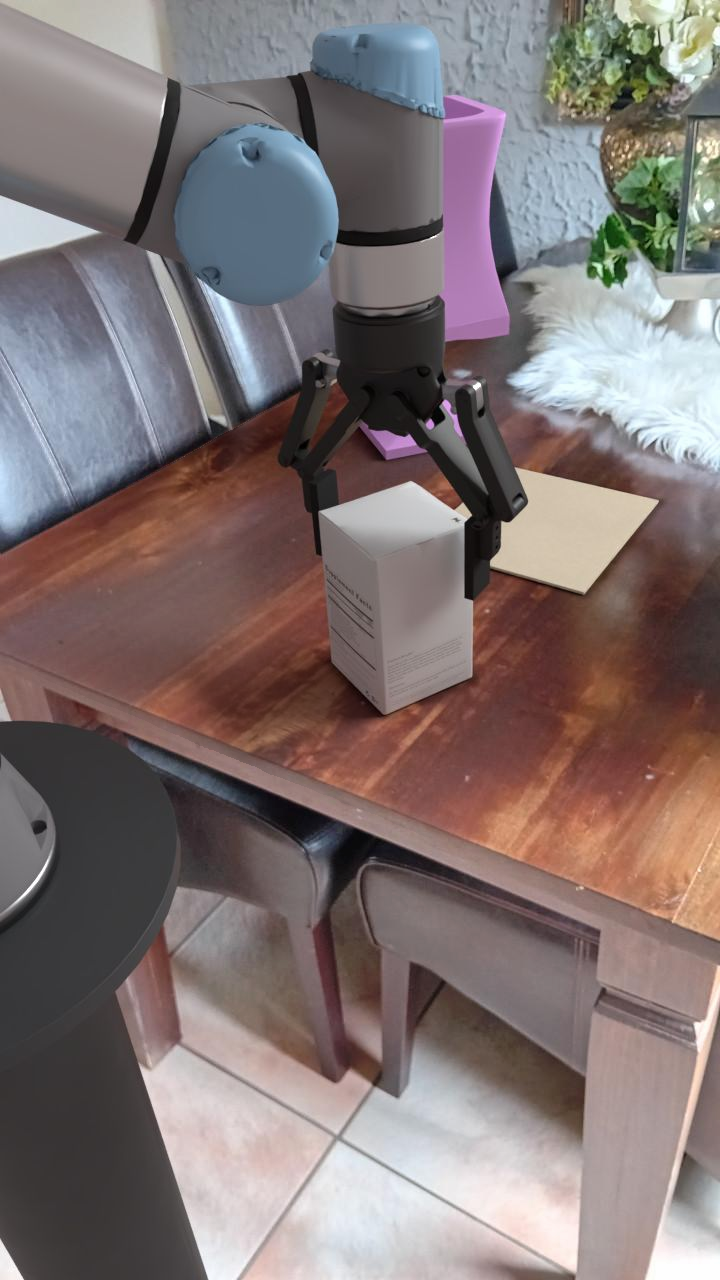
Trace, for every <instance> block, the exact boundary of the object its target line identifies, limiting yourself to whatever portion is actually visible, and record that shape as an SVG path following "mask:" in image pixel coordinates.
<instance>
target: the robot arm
mask: <svg viewBox="0 0 720 1280" xmlns="http://www.w3.org/2000/svg"><path fill="white" fill-rule="evenodd" d="M311 50H312V52H311V53H312V55H311V57H312V59H311V61H310V62H309V68H310V69H309V70H306V71H301V72H298V73H297V74H290V75H286V76H281V77H272V78H271V77H269V78H258V79H245V80H236V81H235V80H234V81H233V80H232V81H224V82H210V83H198V84H185V83H182V82H180V81H177V80H175V79H172V78H170V77H168V76H167V75H165V74H163V73H160V72H158V71H156V70H153V69H151V68H149V67H147V66H145V65H142V64H140V63H138V62H136V61H134V60H131V59H128V58H127V57H124V56H122V55H120V54H117V53H115V52H112V51H110V50H108V49H106V48H104V47H101V46H99V45H97V44H95V43H92V42H91V41H89V40H86V39H84V38H82V37H79V36H77V35H75V34H72V33H70V32H68V31H66V30H64V29H61V28H59V27H57V26H54V25H53V24H50V23H48V22H46V21H43V20H41V19H39V18H37V17H34V16H32V15H30V14H28V13H25V12H23V11H21V10H19V9H17V8H14V7H12V6H10V5H7V4H6V3H3V2H1V1H0V197H4V198H5V199H9V200H12V201H13V202H17V203H20V204H22V205H26V206H28V207H31V208H32V209H36V210H39V211H42V212H45V213H47V214H50V215H53V216H56V217H58V218H60V219H64V220H67V221H69V222H72V223H75V224H77V225H80V226H82V227H85V228H88V229H91V230H93V231H97V232H99V233H102V234H105V235H107V236H110V237H113V238H116V239H118V240H121V241H124V242H126V243H129V244H131V245H134V246H136V247H138V248H140V249H142V250H144V251H147V252H149V253H152V254H155V255H159V256H161V257H163V258H167V259H168V260H172V261H175V262H177V263H180V264H182V265H186V266H187V268H188V269H189V270H190V272H191V273H192V274H193V275H194V276H195V277H196V278H198V279H199V280H200V281H202V282H203V283H204V284H205V285H207V286H208V287H209V288H210V289H211V290H212V291H213V292H215V293H216V294H218V295H219V296H221V297H223V298H225V299H227V300H229V301H232V302H235V303H238V304H241V305H245V306H254V307H263V306H265V307H266V306H273V305H277V304H279V303H280V304H281V303H283V302H286V301H289V300H291V299H293V298H295V297H297V296H299V295H300V294H302V293H304V291H306V290H307V289H308V288H309V287H311V285H313V284H314V283H315V281H317V280H318V278H319V277H320V276H321V274H322V273H323V272H324V270H325V269H326V266H327V265H328V276H329V290H330V291H329V292H330V295H331V297H332V299H333V300H334V299H335V300H336V301H337V303H336V304H335V306H334V305H333V307H332V323H333V332H334V333H333V334H334V335H333V336H334V349H335V354H336V357H337V358H335V355H334V353H333V352H332V351H331V350H330V349H329V348H324V349H322V350H320V351H319V352H316V353H315V354H314V355H312V356H310V357H308V358H307V359H305V360H304V361H303V362H302V363H301V389H300V392H299V395H298V398H297V400H296V403H295V406H294V409H293V412H292V414H291V417H290V420H289V423H288V425H287V428H286V431H285V435H284V437H283V440H282V443H281V446H280V449H279V451H278V454H277V463H278V464H279V466H281V467H282V468H286V469H287V468H289V467H290V468H292V469H293V470H294V471H296V474H297V476H298V477H299V478H300V479H301V485H302V494H303V505H304V508H305V510H306V512H307V513H309V514H311V518H312V529H313V530H312V531H313V539H314V549H315V555H317V556H320V557H322V548H321V537H320V525H319V514H318V512H319V511H322V510H325V509H328V508H331V507H334V506H338V505H340V499H339V489H338V477H337V475H338V474H337V470H336V469H332V468H327V469H325V467H327V466H328V465H329V464H330V463H332V461H331V460H332V459H333V458H334V457H335V455H336V454H337V453H338V452H339V451H340V450H341V449H342V447H343V446H344V445H345V444H346V442H347V441H348V440H349V439H350V437H351V436H352V435H353V434H354V433H355V432H356V431H357V430H358V428H359V426H360V424H361V423H362V422H364V423H365V424H366V425H368V429H370V430H374V431H385V430H386V431H389V432H391V433H393V434H395V435H397V436H402V437H406V436H408V435H409V434H410V436H411V437H412V438H413V440H414V441H415V443H416V444H417V445H418V447H420V448H421V449H425V450H426V451H427V452H426V453H427V454H428V455H429V456H430V457H431V459H432V461H433V462H434V464H435V465H436V466H437V468H438V469H439V470H440V472H441V473H442V475H443V476H444V478H445V479H446V480H447V482H448V483H449V485H450V486H451V488H452V489H453V490H454V492H455V493H456V495H457V496H458V498H459V499H460V501H462V503H464V504H465V506H466V507H467V509H468V510H469V512H470V513H471V514H472V516H471V517H470V518H469V519H468V520H467V521H466V522H464V598H465V599H469V600H472V601H473V602H474V601H475V600H476V599H477V597H478V596H479V595H480V594H481V593H482V592H483V591H484V590H485V589H486V588H487V587H488V586H489V585H490V583H491V568H490V560H491V559H492V558H493V557H494V556H495V555H496V554H497V553H498V552H499V550H500V548H501V522H502V521H503V522H505V523H509V522H511V521H512V520H513V519H514V518H515V517H516V516H517V515H518V514H519V513H520V512H521V511H522V510H523V509H524V508H525V507H526V506H527V504H528V498H527V495H526V493H525V491H524V488H523V486H522V484H521V481H520V479H519V476H518V474H517V472H516V469H515V464H514V462H513V460H512V457H511V455H510V453H509V451H508V448H507V445H506V444H505V441H504V438H503V436H502V435H501V432H500V430H499V427H498V424H497V421H496V420H495V418H494V415H493V412H492V411H491V410H492V409H491V406H490V405H491V404H490V397H489V396H490V395H489V386H488V385H489V384H488V381H487V380H486V378H485V377H483V376H482V375H475V376H474V377H472V378H470V380H451V379H449V378H448V376H447V374H446V372H445V369H444V358H445V353H446V352H445V351H446V342H445V302H444V300H443V299H442V298H441V297H440V296H439V294H440V293H441V292H442V290H443V289H444V226H443V121H444V118H445V109H444V107H443V97H444V94H443V77H442V76H443V75H442V65H441V54H440V46H439V41H438V39H437V38H436V36H435V34H434V33H433V32H432V30H430V29H429V28H427V27H425V26H423V25H420V24H416V23H407V22H382V23H380V22H379V23H368V24H367V23H366V24H356V25H348V26H346V27H335V28H329V29H326V30H323V31H321V32H319V33H318V34H317V35H316V36H315V38H314V40H313V42H312V47H311ZM335 384H337V385H339V387H340V389H341V391H342V392H343V394H344V395H345V397H346V398H347V400H348V402H347V403H346V404H345V405H344V406H343V407H342V409H341V410H340V411H339V413H338V414H337V415H336V416H335V418H334V421H333V422H332V423H331V425H330V426H329V428H327V430H326V431H325V432H324V433H323V435H322V436H321V438H319V440H318V441H317V442H316V443H315V445H314V446H313V447H312V449H311V450H310V447H311V444H312V441H313V439H314V436H315V434H316V431H317V429H318V426H319V424H320V420H321V418H322V416H323V413H324V410H325V408H326V405H327V403H328V400H329V398H330V395H331V392H332V389H333V386H334V385H335ZM444 400H447V401H448V402H449V403H450V405H451V408H450V412H451V413H452V414H453V415H456V414H457V419H458V423H459V427H460V429H461V432H462V435H463V437H464V439H465V441H466V444H467V445H465V443H464V442H463V441H462V439H461V438H460V436H459V435H458V433H457V432H456V430H455V429H454V420H453V419H452V417H451V416H450V414H449V413H448V411H447V410H446V408H445V407H444V406H443V404H442V403H443V401H444ZM430 418H431V420H432V421H433V423H434V427H433V428H432V429H431V430H430V429H428V428H427V427H426V424H427V422H428V421H429V420H430ZM59 854H60V840H59V834H58V831H57V828H56V825H55V822H54V819H53V816H52V813H51V811H50V809H49V807H48V805H47V804H46V802H45V801H44V800H43V798H42V797H41V796H40V794H39V793H38V792H37V791H36V790H35V789H34V788H33V787H32V786H31V785H30V784H29V783H28V782H27V781H26V780H25V778H24V777H23V776H22V775H21V774H20V773H19V772H18V771H17V770H16V769H15V768H14V767H13V766H12V765H11V764H10V763H9V762H8V760H7V759H6V758H5V757H4V756H3V755H2V754H1V752H0V934H2V933H3V932H5V931H6V930H8V929H9V928H10V927H12V926H13V925H14V924H15V923H17V922H18V921H19V920H20V919H21V918H22V917H23V916H24V915H25V914H26V913H27V912H28V911H29V910H30V909H31V908H32V907H33V906H34V905H35V904H36V903H37V902H38V900H39V899H40V898H41V896H42V895H43V894H44V892H45V891H46V889H47V887H48V886H49V884H50V882H51V880H52V878H53V876H54V873H55V871H56V868H57V865H58V860H59Z"/></svg>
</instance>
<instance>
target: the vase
mask: <svg viewBox="0 0 720 1280" xmlns="http://www.w3.org/2000/svg"><path fill="white" fill-rule="evenodd" d="M443 107H444V109H445V118H444V121H443V226H444V289H443V290H442V292H441V293H440V294H439V296H440V297H441V298H442V299H443V300H444V302H445V343H447V342H453V341H462V340H463V341H464V340H484V339H489V338H491V339H492V338H497V337H502V336H509V335H510V324H511V323H510V320H511V316H510V313H509V309H508V306H507V303H506V299H505V296H504V293H503V290H502V287H501V284H500V283H501V282H500V279H499V276H498V272H497V269H496V264H495V263H496V262H495V258H494V253H493V249H492V239H491V227H490V212H491V211H490V209H491V194H492V193H491V192H492V186H493V181H494V173H495V168H496V163H497V157H498V153H499V149H500V145H501V140H502V135H503V131H504V127H505V124H506V119H507V113H506V111H504V110H502V109H500V108H497V107H495V106H491V105H489V104H485V103H482V102H480V101H476V100H474V99H471V98H467V97H466V96H465V97H464V96H461V95H458V94H452V95H451V94H450V95H443ZM336 303H337V301H336V300H335V299H334V298H333V307H334V306H335V304H336ZM442 404H443V406H444V407H445V408H446V410H447V411H448V413H449V414H450V416H451V417H452V419H453V420H454V429H455V430H456V432H457V433H458V435H459V436H460V438H461V439H462V441H463V442H464V443H465V445H466V446H467V444H466V441H465V439H464V437H463V435H462V432H461V429H460V427H459V423H458V419H457V414H456V415H453V414H452V413H451V412H450V408H451V405H450V403H449V402H448V401H447V400H444V401H443V403H442ZM359 427H360V429H361V430H362V432H363V433H364V434H365V436H367V438H368V440H369V441H371V443H372V444H373V445H374V446H375V448H376V449H377V450H378V451H379V452H380V454H381V455H382V457H383V458H384V459H385V460H386V461H389V460H394V459H399V458H405V457H409V456H414V455H420V454H425V453H428V452H427V451H426V450H425V449H421V448H420V447H418V445H417V444H416V443H415V441H414V440H413V438H412V437H411V436H410V434H409V435H408V436H406V437H402V436H397V435H395V434H393V433H391V432H389V431H386V430H385V431H374V430H370V429H368V425H366V424H365V423H364V422H362V423H361V424H360V426H359ZM359 427H358V428H359ZM426 427H427V428H428V429H430V430H431V429H432V428H433V427H434V423H433V421H432V420H431V418H430V420H429V421H428V422H427V424H426Z"/></svg>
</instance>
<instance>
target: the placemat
mask: <svg viewBox="0 0 720 1280" xmlns="http://www.w3.org/2000/svg"><path fill="white" fill-rule="evenodd" d="M514 467H515V466H514ZM515 469H516V472H517V474H518V476H519V479H520V481H521V484H522V486H523V488H524V491H525V493H526V495H527V498H528V504H527V506H526V507H525V508H524V509H523V510H522V511H521V512H520V513H519V514H518V515H517V516H516V517H515V518H514V519H513V520H512V521H511V522H509V523H505V522H503V521H502V522H501V548H500V550H499V552H498V553H497V554H496V555H495V556H494V557H493V558H492V559H491V560H490V570H491V569H492V570H495V571H498V572H502V573H505V574H508V575H512V576H516V577H519V578H523V579H525V580H530V581H534V582H536V583H541V584H544V585H547V586H551V587H554V588H559V589H561V590H565V591H567V592H568V591H569V592H573V593H576V594H579V595H582V596H584V595H585V594H586V593H587V592H588V590H589V589H591V587H592V585H593V584H594V583H595V582H596V580H597V579H598V578H599V577H600V576H601V575H602V573H603V572H604V571H605V570H606V568H607V567H608V566H609V565H610V563H611V562H612V561H613V560H614V559H615V557H616V556H617V555H618V553H619V552H620V551H621V550H622V548H623V547H624V546H625V545H626V544H627V542H628V541H629V540H630V538H631V537H632V536H633V535H634V534H635V532H636V531H637V530H638V529H639V528H640V526H641V525H642V524H643V522H644V521H645V520H646V519H647V518H648V516H649V515H650V514H651V513H652V511H653V510H654V509H655V508H656V506H657V505H658V504H659V502H660V500H659V499H655V498H651V497H646V496H642V495H638V494H633V493H629V492H625V491H620V490H616V489H611V488H606V487H602V486H598V485H595V484H590V483H585V482H581V481H577V480H572V479H567V478H564V477H558V476H555V475H550V474H547V473H541V472H537V471H533V470H528V469H523V468H520V467H515ZM453 510H454V511H456V512H457V513H459V514H460V515H462V516H463V517H465V518H466V519H469V518H470V517H471V516H472V514H471V513H470V512H469V510H468V509H467V507H466V506H465V504H464V503H463V502H462V503H460V505H459V506H457V507H456V508H455V509H453Z"/></svg>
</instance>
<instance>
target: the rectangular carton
mask: <svg viewBox="0 0 720 1280" xmlns="http://www.w3.org/2000/svg"><path fill="white" fill-rule="evenodd" d="M454 510H455V509H452V508H451V507H450V506H449V505H447V504H446V503H444V502H443V501H441V500H440V499H438V498H437V497H436V496H435V495H433V494H432V493H430V492H429V491H428V490H426V489H425V488H424V487H422V486H421V485H419V484H417V483H415V482H413V481H412V480H409V481H407V482H404V483H401V484H398V485H394V486H391V487H389V488H386V489H383V490H380V491H377V492H373V493H371V494H368V495H365V496H362V497H359V498H356V499H353V500H350V501H346V502H344V503H340V504H339V505H338V506H334V507H331V508H328V509H325V510H322V511H319V512H318V514H319V525H320V537H321V548H322V556H321V558H322V569H323V580H324V590H325V592H324V593H325V601H326V612H327V613H326V614H327V624H328V633H329V634H328V637H329V647H330V658H331V659H330V660H331V663H332V664H333V666H335V668H337V669H338V671H340V672H341V674H342V675H343V676H344V677H346V679H347V680H348V681H349V682H350V683H351V684H352V685H353V686H354V687H355V688H356V689H358V691H359V692H360V693H361V694H362V695H363V696H364V697H365V698H366V699H367V700H368V701H369V702H370V703H371V704H372V705H373V706H374V707H375V708H376V709H377V710H378V711H379V712H380V713H381V714H382V715H385V716H387V715H389V714H391V713H393V712H396V711H398V710H400V709H402V708H405V707H407V706H410V705H412V704H415V703H416V702H418V701H421V700H423V699H426V698H428V697H430V696H432V695H435V694H437V693H439V692H441V691H443V690H446V689H448V688H451V687H453V686H455V685H457V684H460V683H462V682H464V681H466V680H469V679H471V678H472V677H473V655H474V653H473V651H474V649H473V645H474V644H473V640H474V639H473V637H474V636H473V634H474V601H472V600H469V599H465V598H464V522H466V521H467V520H468V519H466V518H465V517H463V516H462V515H460V514H459V513H457V512H456V511H454Z"/></svg>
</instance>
